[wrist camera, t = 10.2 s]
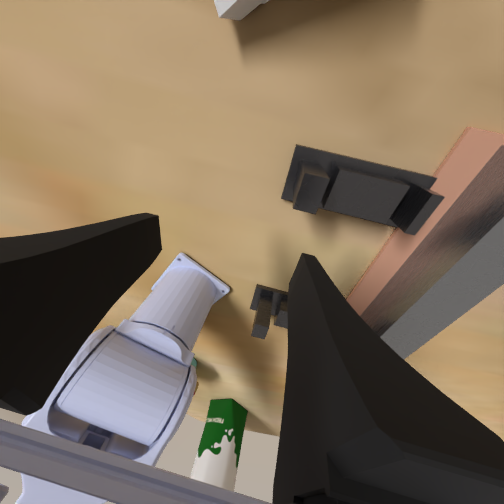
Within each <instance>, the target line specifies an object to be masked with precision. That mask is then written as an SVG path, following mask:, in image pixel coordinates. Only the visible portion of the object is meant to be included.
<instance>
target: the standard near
mask: <svg viewBox="0 0 504 504" xmlns="http://www.w3.org/2000/svg"><path fill="white" fill-rule="evenodd" d="M436 180H437V178H436V177H433V176H429V175H425V174H421V173H416V172H412V171H408V170H404V169H399V168H395V167H391V166H387V165H382V164H378V163H374V162H370V161H365V160H361V159H357V158H353V157H348V156H344V155H340V154H336V153H331V152H327V151H323V150H319V149H314V148H310V147H306V146H301V145H297V144H296V147H295V151H294V154H293V158H292V162H291V165H290V169H289V172H288V176H287V179H286V183H285V186H284V190H283V193H282V197H281V199H285V200H289V201H293V209H296V210H300V211H304V212H308V213H312V214H316V212H317V210H318V208H321V209H325V210H329V211H333V212H337V213H341V214H345V215H350V216H354V217H358V218H362V219H366V220H370V221H374V222H378V223H382V224H386V225H390V226H394V227H398V228H400V229H401V230H402V231H403V232H404V233H406V234H410V235H414V236H415V235H416V234H417V232H418V231H419V230H420V228H421V227H422V226H423V225H424V223H425V222H426V221H427V220H428V218H429V217H430V216H431V214H432V213H433V212H434V211H435V209H436V208H437V207H438V206H439V204H440V203H441V202H442V200H443V199H444V198H445V197H444V196H442V195H440V194H438V193H436V192H434V191H432V190H430V188H431V187H432V185H433V184H434V183H435V181H436Z"/></svg>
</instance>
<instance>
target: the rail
mask: <svg viewBox="0 0 504 504" xmlns="http://www.w3.org/2000/svg"><path fill="white" fill-rule="evenodd" d="M503 284H504V145H501V146H500V148H499V149H498V150H497V151H496V152H495V154H494V155H493V156H492V157H491V158H490V160H489V161H488V162H487V163H486V164H485V166H484V167H483V168H482V169H481V170H480V172H479V173H478V174H477V175H476V177H475V178H474V179H473V180H472V181H471V183H470V184H469V185H468V186H467V187H466V189H465V190H464V191H463V192H462V193H461V195H460V196H459V197H458V198H457V199H456V201H455V202H454V203H453V204H452V206H451V207H450V208H449V209H448V210H447V212H446V213H445V214H444V215H443V216H442V218H441V219H440V220H439V221H438V222H437V224H436V225H435V226H434V227H433V228H432V230H431V231H430V232H429V233H428V235H427V236H426V237H425V238H424V239H423V241H422V242H421V243H420V244H419V245H418V247H417V248H416V249H415V250H414V251H413V253H412V254H411V255H410V256H409V257H408V259H407V260H406V261H405V262H404V264H403V265H402V266H401V267H400V268H399V270H398V271H397V272H396V273H395V274H394V276H393V277H392V278H391V279H390V280H389V282H388V283H387V284H386V285H385V287H384V288H383V289H382V290H381V291H380V293H379V294H378V295H377V296H376V297H375V299H374V300H373V301H372V302H371V303H370V305H369V306H368V307H367V308H366V309H365V311H364V312H363V313H362V314H361V316H360V317H361V318H362V319H363V320H364V321H365V322H366V323H367V324H368V325H369V327H370V328H371V329H372V330H373V331H374V332H375V333H376V334H377V335H378V336H379V337H380V338H381V339H382V340H383V341H384V342H385V343H386V344H387V345H389V346H390V347H391V348H392V349H393V350H394V351H395V352H396V353H397V354H398V355H399V356H400V357H401V358H402V359H405V358H406V357H408V356H409V355H410V354H412V353H413V352H414V351H416V350H417V349H418V348H420V347H421V346H422V345H424V344H425V343H426V342H428V341H429V340H430V339H432V338H433V337H434V336H435V335H437V334H438V333H439V332H441V331H442V330H443V329H445V328H446V327H447V326H449V325H450V324H451V323H453V322H454V321H455V320H457V319H458V318H459V317H461V316H462V315H463V314H465V313H466V312H467V311H468V310H470V309H471V308H472V307H474V306H475V305H476V304H478V303H479V302H480V301H482V300H483V299H484V298H486V297H487V296H488V295H490V294H491V293H492V292H494V291H495V290H496V289H497V288H499V287H500V286H501V285H503Z"/></svg>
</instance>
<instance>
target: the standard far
mask: <svg viewBox="0 0 504 504" xmlns="http://www.w3.org/2000/svg"><path fill="white" fill-rule="evenodd" d="M287 300H288V292H284V291H281V290H277V289H273V288H269V287H266V286H262V285H258V284H257V286H256V289H255V293H254V296H253V300H252V303H251V307H250V309H252V310H256V314H255V319H254V324H253V329H252V334H251V336H254V337H257V338H261V339H265V337H266V334H267V332H268V329H269V325H270V317H271V315H274V316H275V319H274V325H276V326H280V327H284V328H287V329H288V315H287Z"/></svg>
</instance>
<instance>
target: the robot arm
mask: <svg viewBox="0 0 504 504" xmlns="http://www.w3.org/2000/svg"><path fill="white" fill-rule="evenodd" d="M161 250H162V245H161V236H160V226H159V216H157V215H153V214H150V213H141V214H135V215H130V216H126V217H121V218H117V219H112V220H108V221H104V222H99V223H95V224H90V225H85V226H80V227H75V228H70V229H65V230H59V231H53V232H47V233H40V234H33V235H25V236H16V237H5V238H0V408H3V409H6V410H10V411H13V412H16V413H19V414H23V415H27V416H26V417H25V419H24V420H23V421H22V425H18V424H15V423H12V422H9V421H6V420H2V419H0V466H1V467H4V468H7V469H11V470H13V471H16V472H20V473H21V477H22V484H23V491H22V494H21V495H20V497H19V498H18V500H17V501H16V503H15V504H103V503H105V502H107V501H109V502H113V503H116V504H271V503H268V502H265V501H262V500H259V499H255V498H252V497H249V496H246V495H243V494H239V493H236V492H233V491H230V490H227V489H224V488H220V487H217V486H214V485H211V484H208V483H204V482H201V481H198V480H195V479H191V478H188V477H185V476H182V475H178V474H175V473H172V472H169V471H166V470H163V469H159V468H156V467H155V465H156V463H157V461H158V459H159V457H160V455H161V454H162V452H163V450H164V449H165V447H166V445H167V444H168V442H169V441H170V440H171V439H172V437H173V436H174V435H175V433H176V431H177V429H178V428H179V426H180V424H181V423H182V421H183V419H184V417H185V414H186V412H187V410H188V408H189V405H190V403H191V400H192V397H193V394H194V391H195V388H196V383H197V375H196V368H195V366H193V365H191V362H192V360H193V357H194V355H195V354H194V353H192V352H191V351H192V349H193V347H194V344H195V342H196V340H197V338H198V335H199V333H200V331H201V329H202V326H203V324H204V322H205V320H206V317H207V315H208V313H209V311H210V309H211V306H212V305H213V304H214V303H215V302H217V301H218V300H219V299H221V298H222V297H223V296H224V295H226V294H227V293H228V292H229V291H230V287H229V286H227V285H226V284H225V283H223V282H222V281H221V280H219V279H218V278H217V277H215V276H214V275H212V274H211V273H210V272H208V271H207V270H206V269H204V268H203V267H202V266H200V265H199V264H198V263H196V262H195V261H193V260H192V259H191V258H189V257H188V256H187V255H185V254H184V253H179V254H178V255H177V257H176V258H175V259H174V260H173V262H172V263H171V264H170V265H169V267H168V268H167V269H166V270H165V272H164V273H163V274H162V275H161V277H160V278H159V279H158V280H157V282H156V283H155V284H154V285H153V287H152V288H151V289H152V292H151V293H150V295H149V296H148V297H147V298H146V299H145V301H144V302H143V303H142V304H141V305H140V307H139V308H138V309H137V310H136V311H135V313H134V314H133V315H132V316H131V317H130V319H129V320H127V319H124V320H123V321H122V323H121V324H120V325H119V326H118V327H117V328H116V327H114V326H112V325H109V326H107V327H104V328H101V329H98V330H96V331H95V332H94V333H92V332H93V330H94V329H95V328H96V326H97V325H98V324H99V322H100V321H101V320H102V318H103V317H104V316H105V315H106V313H107V312H108V311H109V310H110V308H111V307H112V306H113V305H114V304H115V302H116V301H117V300H118V299H119V298H120V297H121V296H122V295H123V294H124V293H125V292H126V291H127V290H128V289H129V288H130V287H131V286H132V284H133V283H134V282H135V281H136V280H137V279H138V278H139V277H140V276H141V275H142V274H143V273H144V272H145V271H146V270H147V269H148V268H149V267H150V266H151V264H152V263H153V262H154V260H155V259H156V258H157V256H158V255H159V253H160V252H161ZM179 258H180V259H181V260H180V259H179ZM223 290H224V291H223ZM287 315H288V359H287V372H286V383H285V394H284V404H283V413H282V422H281V431H280V439H279V447H278V455H277V463H276V470H275V477H274V485H273V503H272V504H504V442H503V440H502V439H501V438H500V437H499V436H498V435H496V434H495V433H494V432H492V431H491V430H490V429H489V428H487V427H486V426H485V425H483V424H482V423H481V422H480V421H478V420H477V419H476V418H474V417H473V416H472V415H470V414H469V413H468V412H467V411H465V410H464V409H463V408H461V407H460V406H459V405H458V404H456V403H455V402H454V401H452V400H451V399H450V398H449V397H447V396H446V395H445V394H443V393H442V392H441V391H440V390H439V389H437V388H436V387H435V386H434V385H433V384H431V383H430V382H429V381H428V380H427V379H426V378H424V377H423V376H422V375H421V374H420V373H418V372H417V371H416V370H415V369H414V368H413V367H411V366H410V365H409V364H408V363H407V362H406V361H405V360H404V359H402V358H401V357H400V356H399V355H398V354H397V353H396V352H395V351H394V350H393V349H392V348H391V347H390V346H389V345H387V344H386V343H385V342H384V341H383V340H382V339H381V338H380V337H379V336H378V335H377V334H376V333H375V332H374V331H373V330H372V329H371V328H370V327H369V325H368V324H367V323H366V322H365V321H364V320H363V319H362V318H361V317H360V316H359V315H358V314H357V312H356V311H355V310H354V309H353V308H352V307H351V305H350V304H349V303H348V302H347V300H346V299H345V298H344V297H343V295H342V294H341V293H340V291H339V290H338V289H337V287H336V286H335V285H334V283H333V282H332V280H331V279H330V278H329V276H328V275H327V273H326V272H325V270H324V269H323V267H322V266H321V264H320V263H319V261H318V260H317V258H316V257H315V256H313V255H309V254H305V253H302V254H301V257H300V259H299V261H298V264H297V266H296V269H295V271H294V273H293V276H292V278H291V281H290V283H289V291H288V300H287ZM91 333H92V334H91ZM90 334H91V335H90ZM8 490H9V487H7V486H5V485H2V484H0V502H1V501H2V500H3V498H4V497H5V496H6V495H7V493H8Z"/></svg>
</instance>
